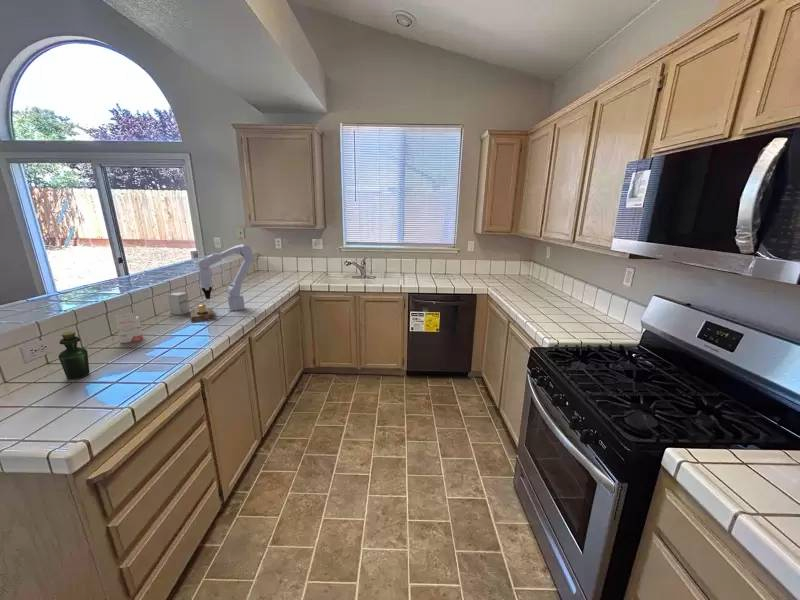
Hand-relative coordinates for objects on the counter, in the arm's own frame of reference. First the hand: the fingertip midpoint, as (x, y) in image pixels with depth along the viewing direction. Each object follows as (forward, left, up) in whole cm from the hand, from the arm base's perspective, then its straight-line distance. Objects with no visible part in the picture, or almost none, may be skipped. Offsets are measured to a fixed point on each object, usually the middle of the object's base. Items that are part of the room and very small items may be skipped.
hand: (208, 298), depth 210 cm
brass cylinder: (+4, +9, -9) cm, 14 cm away
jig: (+4, +7, -9) cm, 12 cm away
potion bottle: (+49, +69, -10) cm, 85 cm away
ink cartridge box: (+36, +34, -10) cm, 50 cm away
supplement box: (+16, -8, -10) cm, 20 cm away
